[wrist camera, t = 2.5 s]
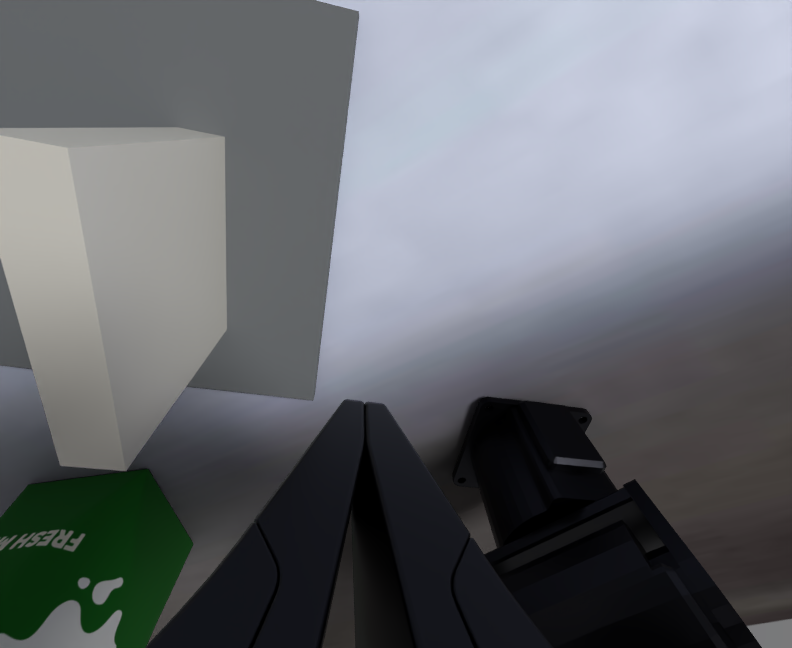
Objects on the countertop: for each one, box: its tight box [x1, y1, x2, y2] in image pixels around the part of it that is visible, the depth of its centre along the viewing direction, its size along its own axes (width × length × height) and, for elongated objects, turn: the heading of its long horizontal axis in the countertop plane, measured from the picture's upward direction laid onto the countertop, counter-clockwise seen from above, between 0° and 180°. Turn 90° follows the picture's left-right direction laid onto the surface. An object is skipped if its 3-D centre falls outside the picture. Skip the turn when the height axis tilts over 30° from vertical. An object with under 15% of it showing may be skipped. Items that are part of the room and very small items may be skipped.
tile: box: [0, 127, 227, 471], centre depth 12 cm, size 8×2×8 cm, turn 169°
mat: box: [0, 0, 359, 401], centre depth 15 cm, size 16×20×1 cm
